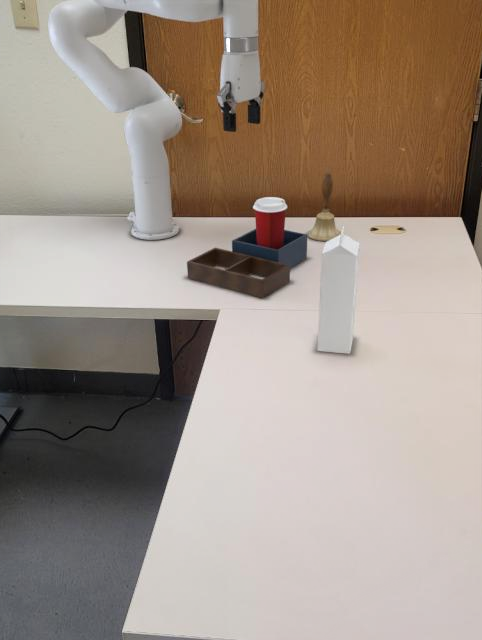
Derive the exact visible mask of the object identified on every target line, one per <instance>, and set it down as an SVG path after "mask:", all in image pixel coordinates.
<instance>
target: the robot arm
mask: <svg viewBox="0 0 482 640" xmlns="http://www.w3.org/2000/svg"><path fill="white" fill-rule="evenodd" d="M128 11H130V12H136V13H142V14H143V13H144V14H148V15H151V16H155V17H158V18H162V19H167V20H174V21H181V22H186V23H187V22H188V23H199V22H204V21H212V20H217V19H221V18H222V22H223V23H222V25H223V53H222V57H221V63H220V80H219V91H218V92H217V94H216V99H217V101H218V106H219V108H220V112H221V113H222V124H223V128H222V129H223V131H224V132H231V133H236V131H237V113H236V112H235V111H236V109H237V106H238V104H240V103H244V102H248V104H247V123H248V124H254V125H260V124H261V106H262V104H263V101H262V99H263V97H264V92H265V87H266V83H265V82H264V81H263V80H261V65H260V63H261V62H260V55H259V0H64V1H63V0H62V1H61V2H58V3H57V4H56V5H54V6H53V7H52V8H51V10H50V12H49V15H48V19H47V31H48V37H49V41H50V44H51V45H52V47H53V49H54V52H55V53H56V55H58V57H59V58H60V59H61V60H62V61H63V62H64V64H65V65H66V66H67V67H68V68H69V69H70V70H71V71H72V72H73V73H74V74H75V75H76V76H77V77H78V78H79V79H80V80H81V81H82V82H83V84H84V85H85V86H86V88H88V90H89V91H91V92H92V94H93V95H94V96H95V97H96V98H97V100H98V101H99V102H100V103H101V104H102V106H104V107H105V108H106V109H107V110H108V111H109V112H110V113H114V114H122V113H126V112H128V111H130V112H129V113H128V114H127V116H126V118H125V119H124V123H123V133H124V138H125V142H126V145H127V149H128V154H129V160H130V161H129V162H130V171H131V178H132V179H131V180H132V189H133V201H134V210H135V211H134V210H132V211H130V212H129V215H127V216H126V220H127V221H129V222H133V226H132V227H131V229H130V232H131V233H130V234H131V235H132V236H133V237H135V238H136V239H140V240H145V241H146V240H147V241H156V240H164V239H169V238H172V237H174V236H176V235H177V234H178V233H179V232H180V227H179V224H177V223H176V222H174V220H173V203H172V189H171V174H170V164H169V163H170V162H169V158H168V154H167V152H166V149H165V145H164V142H166V141H168V140H170V139H172V138H174V137H175V136H176V135H178V134H179V133H180V131H181V129H182V127H183V116H182V113H181V110H180V108H179V107H178V105H177V104H176V103H175V102H174V100H173V99H172V98H171V97H170V96H169V95H168V94H167V93H166V91H164V89H163V88H162V86H160V85H159V84H158V82H157V81H156V80H155V79H154V78H153V77H152V76H151V75H150V74H149V73H148V72H147V71H145V69H141V68H139V67H136V66H129V67H125V68H120V66H117V65H116V64H115V63H114V62H113V60H111V58H109V56H108V55H107V54H106V53H105V52H104V50H102V49H101V48H100V47H98V46H97V45H95V44H94V43H92V42H91V41H90V40H89V39H88V38H95V37H98V36H102V35H104V34H106V33H107V32H109V31H110V29H112V28H113V26H115V24H116V23H118V21H119V20H120V19H121V18H123V17H124V15H125V14H126V13H127V12H128Z"/></svg>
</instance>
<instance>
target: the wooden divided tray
mask: <svg viewBox="0 0 482 640" xmlns="http://www.w3.org/2000/svg"><path fill="white" fill-rule="evenodd" d="M215 266H219V267H222V268H219V267H215ZM186 268H187V269H186V270H187V279H189V280H194V281H197V282H200V283H205V284H208V285H212V286H215V287H219V288H222V289H227V290H231V291H234V292H238V293H242V294H245V295H249V296H252V297H256V298H259V299H260V298H261V299H265V298H266V297H268V296H269V295H271V294H273V293H275V292H276V291H277V290H279V289H282V287H284V286H286V285H287V284H289V283H290V281H291V280H290V279H291V269H290V265H288V264H284V263H279V262H275V261H271V260H266V259H262V258H258V257H254V256H249V255H245V254H241V253H237V252H232V250H227V249H223V248H219V247H213V248H211V249H209V250H207V251H205V252H202V253H201V254H199V255H196V256H195V257H193V258H191V259H189V260H188V261H186ZM223 268H225V269H223ZM250 275H251V276H250ZM252 275H254V276H259V277H263V278H258V277H254V276H252Z"/></svg>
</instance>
